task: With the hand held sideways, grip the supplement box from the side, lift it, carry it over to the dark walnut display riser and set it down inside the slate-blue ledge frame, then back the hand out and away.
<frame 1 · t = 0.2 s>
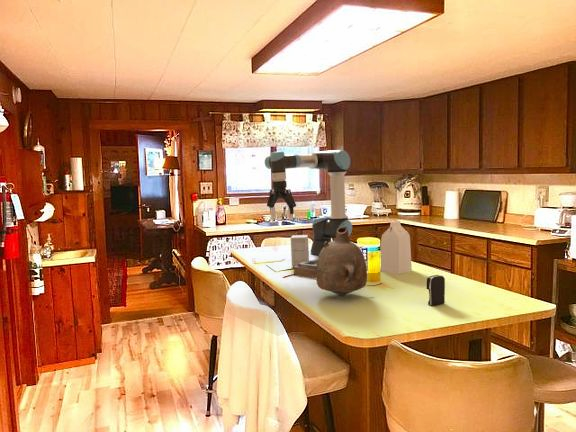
hand: (282, 219, 260), 27 cm above the kitchen island, tool pointing down, fingers open, 13 cm apart
jug: (342, 296, 204), on the kitchen island
milk: (395, 271, 250), on the kitchen island
display riser: (321, 273, 250), on the kitchen island
supplement box: (300, 265, 271), on the kitchen island
battery charger: (435, 304, 188), on the kitchen island
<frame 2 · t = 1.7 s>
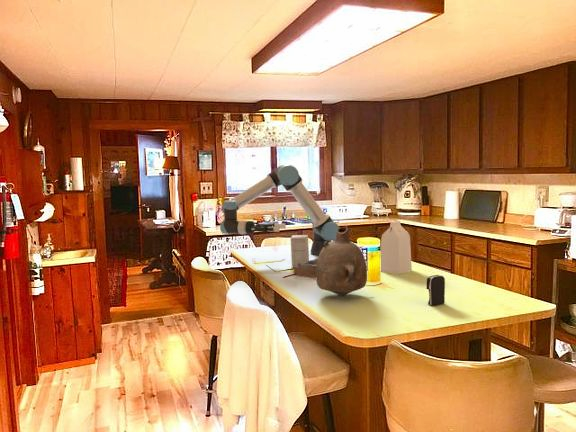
hand: (282, 227, 271), 22 cm above the kitchen island, tool horizontal, fingers open, 13 cm apart
nothing on the kitchen island moved.
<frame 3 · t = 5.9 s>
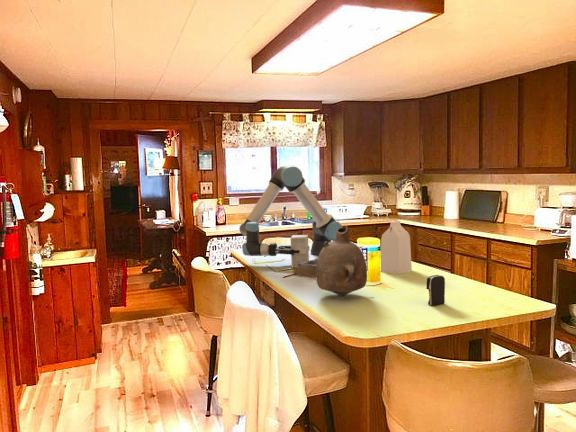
hand: (307, 249, 269), 9 cm above the kitchen island, tool horizontal, fingers closed on supplement box, 10 cm apart
supplement box: (300, 265, 271), on the kitchen island, touching gripper
everything else where it was.
when the fingers open (14 cm above the kitchen island, at t = 11.9 s): supplement box drops 1 cm, resting on display riser.
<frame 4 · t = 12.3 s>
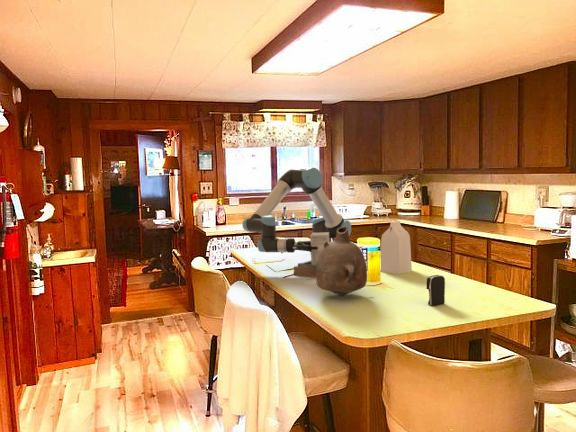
hand: (326, 245, 247), 14 cm above the kitchen island, tool horizontal, fingers open, 13 cm apart
supplement box: (320, 265, 249), point 4 cm above the kitchen island, touching display riser
everything else where it was.
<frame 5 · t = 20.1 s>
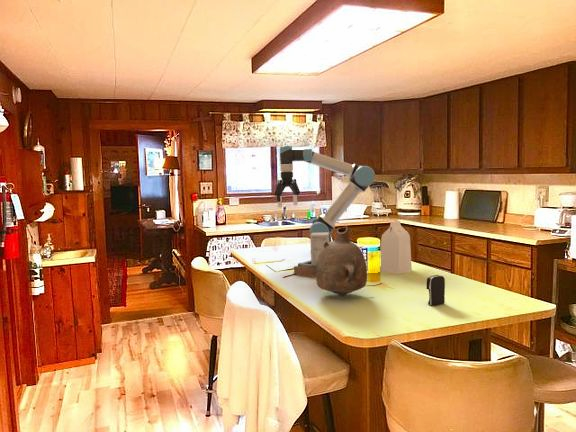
hand: (287, 206, 293), 32 cm above the kitchen island, tool pointing down, fingers open, 13 cm apart
nothing on the kitchen island moved.
at the end: supplement box inside the target area on the display riser (0.1 cm from its centre), point 3.8 cm above the display riser's base; supplement box tilted 0°; the gripper is holding nothing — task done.
